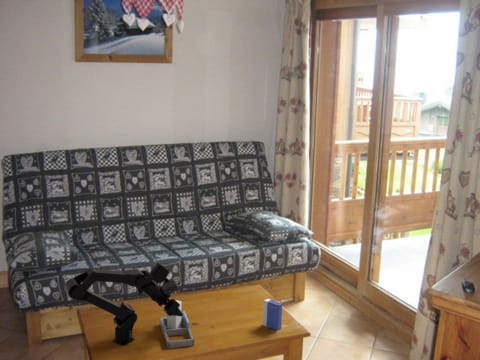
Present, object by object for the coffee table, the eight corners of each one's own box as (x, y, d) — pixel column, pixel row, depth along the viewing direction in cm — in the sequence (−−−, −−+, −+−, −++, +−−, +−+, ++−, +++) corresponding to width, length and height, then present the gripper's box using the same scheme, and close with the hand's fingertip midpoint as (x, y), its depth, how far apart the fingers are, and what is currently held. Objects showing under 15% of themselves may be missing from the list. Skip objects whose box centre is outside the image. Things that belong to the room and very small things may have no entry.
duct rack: (194, 345, 235) (194, 334, 234) (167, 348, 232) (167, 336, 231) (184, 321, 254) (184, 311, 253) (160, 324, 251) (160, 313, 250)
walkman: (281, 328, 252) (282, 302, 249) (277, 330, 249) (279, 304, 247) (265, 322, 256) (267, 297, 253) (262, 325, 254) (263, 299, 251)
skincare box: (172, 325, 251) (172, 299, 248) (181, 326, 249) (182, 301, 247) (166, 331, 245) (166, 305, 242) (175, 333, 244) (176, 306, 241)
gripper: (175, 284, 232) (200, 304, 240) (157, 267, 248) (181, 287, 255) (156, 306, 230) (182, 326, 238) (140, 288, 246) (164, 307, 253)
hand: (177, 310), depth 246 cm, fingers open, 9 cm apart
